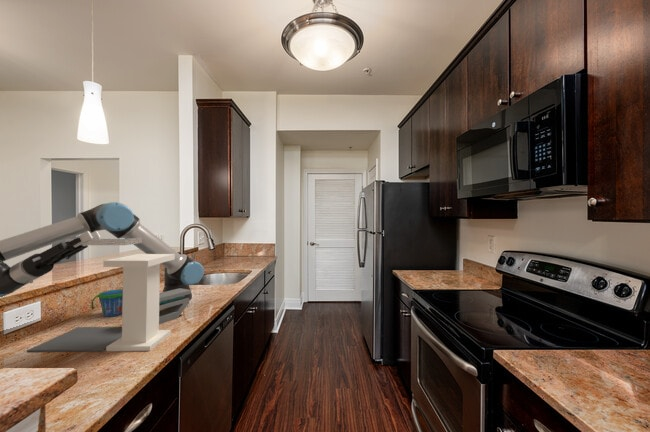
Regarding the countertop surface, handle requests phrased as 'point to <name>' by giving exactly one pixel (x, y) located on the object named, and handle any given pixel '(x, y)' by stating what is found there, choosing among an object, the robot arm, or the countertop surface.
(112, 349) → the stand
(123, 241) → the bracket
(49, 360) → the countertop surface
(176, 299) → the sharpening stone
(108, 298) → the snack cup
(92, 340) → the mat
